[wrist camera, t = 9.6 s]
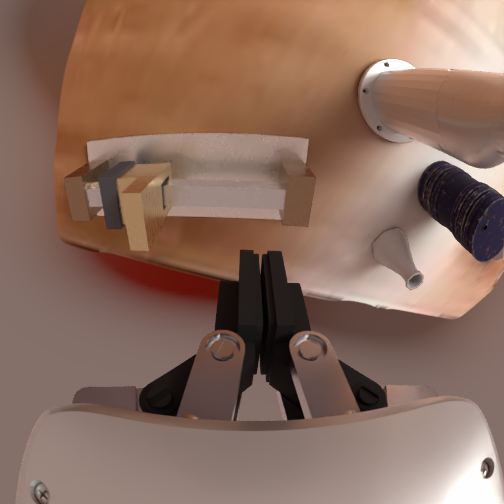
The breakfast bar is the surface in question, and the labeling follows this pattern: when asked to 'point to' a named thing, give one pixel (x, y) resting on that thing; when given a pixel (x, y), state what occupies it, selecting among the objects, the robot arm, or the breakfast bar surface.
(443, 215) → the storage jar
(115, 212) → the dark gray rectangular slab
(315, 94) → the breakfast bar surface
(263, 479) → the robot arm
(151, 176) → the wooden block
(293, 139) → the pipe rig
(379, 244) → the flask
